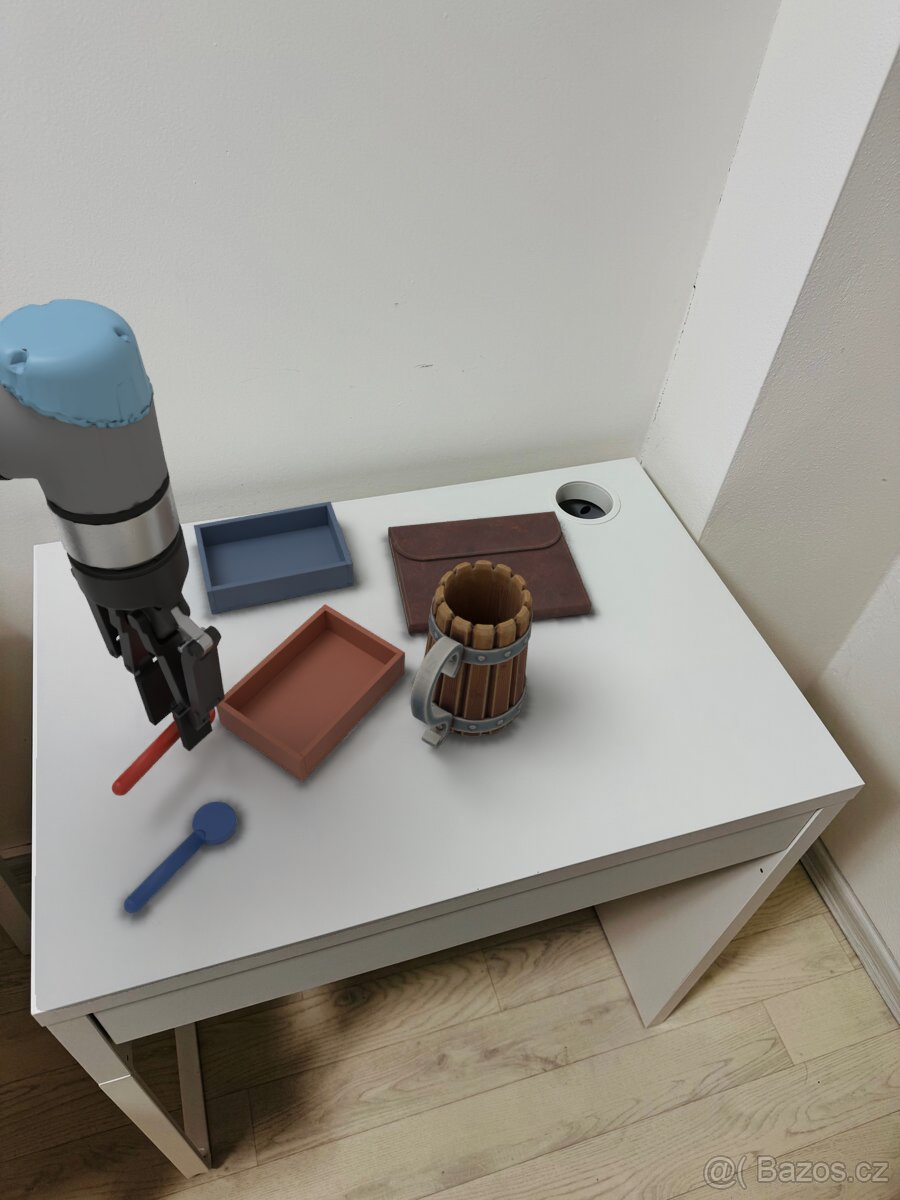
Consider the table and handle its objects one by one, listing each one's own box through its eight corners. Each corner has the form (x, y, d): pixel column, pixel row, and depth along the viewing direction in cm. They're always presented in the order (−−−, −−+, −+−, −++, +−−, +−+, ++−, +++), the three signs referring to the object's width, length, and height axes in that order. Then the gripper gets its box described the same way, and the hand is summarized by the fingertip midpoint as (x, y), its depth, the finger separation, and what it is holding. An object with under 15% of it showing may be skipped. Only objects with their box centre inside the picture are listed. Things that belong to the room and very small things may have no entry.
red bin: (302, 782, 75) (299, 761, 73) (220, 723, 79) (214, 702, 76) (404, 673, 84) (405, 652, 81) (326, 625, 87) (324, 603, 85)
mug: (452, 636, 87) (462, 533, 76) (542, 682, 84) (566, 581, 73) (366, 745, 78) (363, 645, 67) (464, 800, 75) (478, 706, 64)
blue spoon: (143, 928, 66) (139, 921, 65) (112, 901, 67) (108, 894, 66) (245, 821, 72) (243, 814, 71) (215, 799, 74) (213, 791, 73)
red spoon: (133, 808, 69) (129, 800, 67) (100, 787, 70) (96, 778, 68) (224, 711, 75) (222, 702, 74) (193, 693, 76) (190, 684, 75)
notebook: (589, 615, 90) (593, 603, 89) (409, 636, 87) (409, 624, 85) (551, 520, 100) (554, 508, 99) (387, 536, 97) (387, 524, 95)
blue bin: (211, 614, 87) (206, 592, 85) (198, 547, 94) (193, 524, 91) (353, 585, 91) (352, 563, 89) (332, 523, 98) (330, 501, 95)
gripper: (254, 558, 56) (280, 746, 73) (86, 455, 61) (148, 653, 79) (167, 626, 51) (217, 809, 69) (-5, 509, 57) (82, 705, 74)
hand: (180, 725), depth 74 cm, fingers closed on red spoon, 3 cm apart
